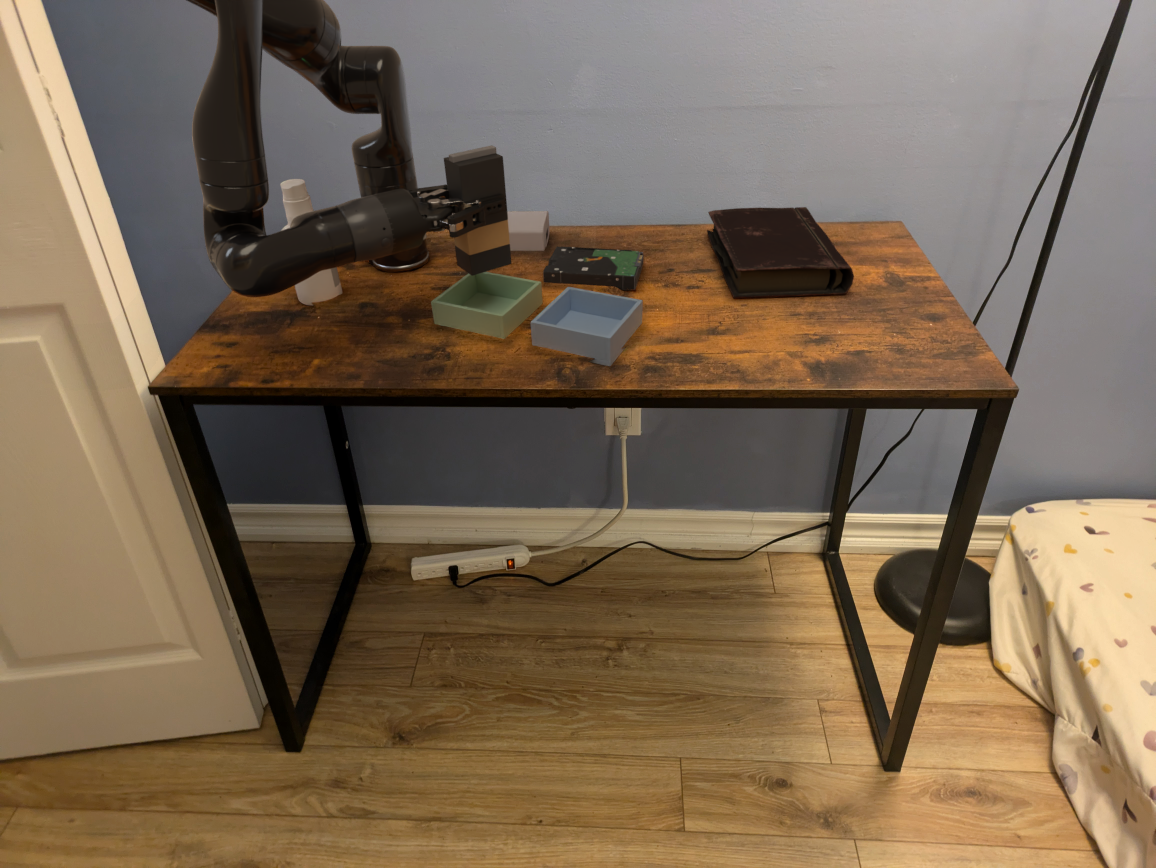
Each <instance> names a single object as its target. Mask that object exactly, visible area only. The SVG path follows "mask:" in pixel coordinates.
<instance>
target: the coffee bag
mask: <svg viewBox="0 0 1156 868" xmlns="http://www.w3.org/2000/svg"><path fill="white" fill-rule="evenodd" d="M443 165H444V172H445V173H444V174H445V179H446V185H447V189H448V191H449V198H450V199H454V198H461V199H462V200H463V201H464V202H466V201H470V200H475V199H481V198H485V197H489V196H492V195H496V194H503V195H505V196H506V197H507V191H506V190H507V189H506V178H505V165H504V156H503V155H501V154H499V153H498V151H497V146H494V145H487V146H482V147H477V148H472V149H469V150H464V151H463V150H462V151H459V152H454V153H449V154H448V156H446V157H443ZM506 204H507V205H508V203H507V200H506ZM454 207H455V214H456V213H458V207H457V206H454ZM467 208H470V207H467ZM467 208H465V209H467ZM507 211H508V207H507V208H506V210H505V211H503V212H499V213H495V214H491V215H487V216H485V222H486V224H485V225H483V226H481V227H479V228H477V229H474V230H472V231H470V232H468V233H465V234H463V235H461V236H459V237H456V238H453V243H454V251H455V257H456V258H455V259H456V265H457V267H459V268H460V269H462V270H463V271H464V272H466V273H467V274H468V273H469V274H470V275H472V276H473V275H476V274H480V273H483V272H490V271H493V270H496V269H499V268H502V267H503V268H504V267H506V266H509V265H512V253H511V252H512V251H510V240H509V227H508V213H507Z"/></svg>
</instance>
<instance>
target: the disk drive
mask: <svg viewBox="0 0 1156 868" xmlns="http://www.w3.org/2000/svg"><path fill="white" fill-rule="evenodd" d="M644 256H645V255H644V252H643V251H639V250H632V249H617V248H616V249H614V248H600V247H599V248H598V247H596V248H595V247H582V246H581V247H579V246H556V247H555V248H554V250H553V252H552V254H551V256H550V258H549V259H548V264H547V265H545V267H544V268H543V270H542V276H543V277H542V279H543V283H547V284H564V285H565V284H566V285H579V286H581V285H583V286H597V287H613V288H617V289H619V290H620V291H636V290H637V287H638V283H639V281H640V276H641V274H642V270H643V267H644V261H645V260H644V258H645V257H644Z"/></svg>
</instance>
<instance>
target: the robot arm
mask: <svg viewBox="0 0 1156 868" xmlns="http://www.w3.org/2000/svg"><path fill="white" fill-rule="evenodd" d="M185 1H186V2H188V3H190V4H192V5H194V6H196V7H199V8H200V9H202V10H203V11H206V12H208V13H209V14H211V15H212V16H214V17H215V18H216V19H217V41H216V47H215V52H214V56H213V59H212V63H211V65H210V68H209V71H208V74H207V77H206V79H205V80H204V81H205V82H204V83H203V86H202V89H201V91H200V94H199V96H198V99H197V101H196V104H195V107H194V111H193V116H192V122H191V123H192V124H191V138H192V146H193V151H194V159H195V163H196V170H197V176H198V181H199V186H200V190H201V194H202V201H203V202H202V204H203V205H202V212H203V213H202V218H203V219H202V221H203V222H202V223H203V237H204V244H205V250H206V254H207V258H208V260H209V263H210V264H211V266H212V268H213V269H214V271H215V272H216V273H217V275H218V276H219V277H220V279H221V280H222V281H223V283H224V284H225V285H226V286H227V288H228V289H229V290H231V291H232V292H233V293H235V294H237V295H239V296H242V297H247V298H264V297H268V296H269V297H270V296H273V295H276V294H279V293H281V292H284V291H287V290H288V289H290V288H292V287H295V285H296V284H298V283H300V282H302V281H304V280H306V279H308V278H310V277H311V276H313V275H315V274H316V273H318V272H320V271H323V270H328V269H332V268H336V267H337V268H340V267H343V266H346V265H350V264H355V263H359V262H367V261H368V264H369V265H373V266H374V267H375V268H376V269H378V270H379V271H383V272H387V273H401V272H407V271H412V270H416V269H418V268H421V267H423V266H425V265H426V264H427V263H428V262H429V260H430V254H429V250H428V245H427V233H432V232H433V233H440V232H445V231H448V233H449V237H450V238H453V239H454V238H456V237H459V236H461V235H463V234H465V233H468V232H470V231H472V230H474V229H477V228H479V227H481V226H483V225H485V224H486V222H485V216H487V215H491V214H495V213H499V212H503V211H505V210H506V208H507V209H508V203H507V204H506V201H507V195H506V196H505V195H503V194H496V195H492V196H489V197H485V198H481V199H475V200H470V201H466V202H464V201H463V200H462V199H461V198H454V199H450V198H449V191H448V189H447V183H446V184H440V185H433V186H424V187H419V185H418V178H417V171H416V165H415V159H414V153H413V144H412V129H411V122H410V114H409V106H408V105H409V103H408V96H407V95H408V94H407V83H406V75H405V70H404V64H403V61H402V58H401V57H400V54H399V53H398V51H397V50H396V49H395V48H394V47H393V46H389V45H342V30H341V29H342V28H341V25H340V22H339V19H338V18H337V16H336V13H335V11H334V10H333V9H332V8H331V7H330V5H329V4H328V3H327V2H326V1H325V0H185ZM263 51H264V52H265V53H266V54H267V55H269V56H270V57H272V58H273V59H275V60H276V61H277V62H279V63H281V64H282V65H283V66H285V67H287V68H289V69H291V70H292V71H293V72H295V73H296V74H298V75H299V76H300V77H302V78H303V79H304V80H306V81H307V82H308V83H310V84H311V85H312V86H314V87H315V88H316V89H317V91H319V92H320V93H321V94H322V95H323V96H324V97H325V98H326V100H328V101H329V102H330V103H331V104H332V105H333V106H334V107H336V108H337V109H338V110H340V111H341V112H343V113H346V114H350V115H351V114H352V115H380V127H378V128H377V129H375V130H374V131H372V132H369V133H366V134H364V135H362V136H359V137H357V138H356V139H355V140H354V141H352V144H351V155H352V160H353V165H354V169H355V175H356V180H357V184H358V189H359V195H360V197H358V198H353V199H350V200H347V201H345V202H342V203H340V204H337V205H334V206H329V207H325V208H320V209H316V210H314V211H311V212H307V213H304V214H301V215H299V216H297V217H295V218H294V219H293V220H292V222H291V224H290V228H288V229H285V230H282V229H281V230H282V231H281V230H279V231H277V232H274V233H271V234H267V232H266V224H265V212H264V207H266V206H267V204H268V203H269V200H270V199H269V198H270V183H269V176H268V175H269V174H268V166H267V158H266V150H265V141H264V134H263V133H264V131H263V121H262V68H263V67H262V66H263V65H262V64H263ZM454 206H457V207H458V213H456V214H455V207H454ZM467 207H470V208H467ZM465 208H467V209H465Z"/></svg>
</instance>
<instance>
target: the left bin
mask: <svg viewBox="0 0 1156 868" xmlns="http://www.w3.org/2000/svg"><path fill="white" fill-rule="evenodd" d="M542 284H543V283H542V281H540V280H534V279H528V278H523V277H518V276H517V277H516V276H512V275H507V274H501V273H495V272H490V271H486V272H483V273H480V274H476V275H473V276H472V275H470V274H469V273H467V274H465V275H464V276H463V277H462V278H461V279H459V280H458V281H456V282H455V283H454V284H452V285H451V286H450V287H448V288H447V289H446V290H445V291H443V292H442V293H440V294H439V295H437V297H436V296H435V298H433V299H432V300H431V301H430V305H431V312H432V317H433V324H434V325H438V326H443V327H448V328H452V329H457V330H460V331H466V332H471V333H475V334H479V335H485V336H490V337H494V338H498V339H502V340H504V339H507V338H508V337H509V336H510V335H511V333H513V332H514V331H515V330H516V329H517V328H518V327H519V326H520V325H521V324H522V323H523V322H525V321H526V320H527V319H528V318H529V317H530V316H531V315H533V314H534V313H535V311H537V309H538V308H540V307H541V306H542V305H543V303H544V302H543V301H544V300H543V285H542Z"/></svg>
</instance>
